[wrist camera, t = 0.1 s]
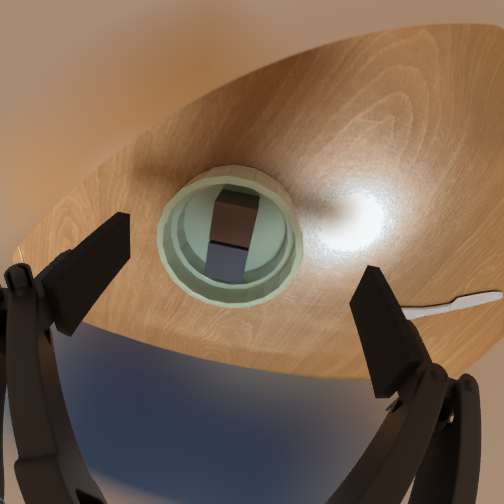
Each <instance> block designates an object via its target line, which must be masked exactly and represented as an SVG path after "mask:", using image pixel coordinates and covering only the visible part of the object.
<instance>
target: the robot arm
mask: <svg viewBox="0 0 504 504" xmlns="http://www.w3.org/2000/svg"><path fill="white" fill-rule="evenodd" d="M129 259H130V214H127V213H122V212H117V213H116V214H115V215H113V216H112V217H111V218H110V219H108V220H107V221H106V222H105V223H103V224H102V225H101V226H100V227H98V228H97V229H96V230H95V231H94V232H93V233H91V234H90V235H89V236H88V237H87V238H85V239H84V240H83V241H82V242H81V243H80V244H79V245H77V246H76V247H75V248H74V249H73V250H71V249H69V250H67V251H65V252H63V253H61V254H60V255H58V256H57V257H56V258H55V259H54V261H52V262H51V263H50V264H49V266H46V267H45V268H44V269H43V270H42V271H41V272H40V273H39V274H38V275H37V276H36V277H35V278H34V279H33V275H32V271H31V268H30V266H29V265H28V264H25V263H18V264H15V265H13V266H11V267H9V268H8V269H7V270H6V271H5V274H4V278H5V280H6V284H7V287H8V288H1V285H0V504H5V502H4V467H3V415H4V403H5V402H4V401H5V393H6V385H7V387H8V398H9V407H10V414H11V420H12V426H13V431H14V436H15V441H16V445H17V449H18V455H19V458H18V460H17V461H16V462H15V464H14V469H15V475H16V478H17V481H18V484H19V487H20V490H21V493H22V495H23V498H24V501H25V503H26V504H107V502H106V500H105V498H104V496H103V494H102V492H101V490H100V489H99V487H98V485H97V484H96V482H95V481H94V480H93V478H92V477H91V475H90V474H89V471H88V469H87V467H86V465H85V462H84V460H83V457H82V455H81V452H80V449H79V447H78V444H77V441H76V438H75V435H74V432H73V429H72V426H71V423H70V419H69V416H68V412H67V409H66V406H65V401H64V397H63V394H62V389H61V385H60V380H59V375H58V370H57V365H56V359H55V352H54V346H53V338H52V332H51V329H50V326H51V325H52V323H53V322H54V323H55V325H56V328H57V331H59V332H61V333H63V334H65V335H67V336H70V337H71V336H72V334H73V333H74V331H75V330H76V328H77V327H78V325H79V324H80V322H81V321H82V320H83V318H84V317H85V316H86V314H87V313H88V312H89V310H90V309H91V307H92V306H93V305H94V303H95V302H96V301H97V299H98V298H99V297H100V295H101V294H102V293H103V291H104V290H105V289H106V287H107V286H108V285H109V284H110V282H111V281H112V280H113V279H114V277H115V276H116V275H117V273H118V272H119V271H120V270H121V269H122V267H123V266H124V265H125V264H126V262H127V261H128V260H129ZM349 305H350V308H351V311H352V314H353V317H354V320H355V324H356V327H357V330H358V334H359V337H360V341H361V344H362V348H363V351H364V355H365V358H366V362H367V366H368V370H369V373H370V377H371V381H372V385H373V389H374V393H375V397H376V398H390V397H391V396H392V395H393V394H394V393H395V392H396V391H397V392H398V395H399V397H398V398H397V399H396V400H395V401H394V402H393V403H392V404H391V405H390V406H389V407H388V408H387V409H386V411H388V410H389V409H390V408H391V409H390V411H389V412H388V414H387V416H386V418H385V420H384V421H383V423H382V425H381V427H380V428H379V430H378V432H377V434H376V435H375V436H374V438H373V440H372V441H371V443H370V444H369V446H368V447H367V449H366V451H365V452H364V453H363V455H362V456H361V458H360V459H359V461H358V462H357V464H356V465H355V466H354V468H353V469H352V471H351V472H350V473H349V475H348V476H347V477H346V479H345V480H344V481H343V482H342V484H341V485H340V486H339V487H338V489H337V490H336V491H335V492H334V494H333V495H332V496H331V497H330V498H329V500H328V501H327V502H326V503H325V504H400V503H401V501H402V500H403V498H404V496H405V494H406V492H407V490H408V489H409V487H410V485H411V483H412V481H413V479H414V477H415V480H414V484H413V488H412V491H411V495H410V498H409V501H408V504H475V501H476V496H477V489H478V482H479V472H480V459H481V410H480V396H479V387H478V384H477V382H476V380H475V378H474V377H472V376H471V375H469V374H463V375H462V376H461V377H460V378H459V379H458V380H455V379H452V378H449V377H448V374H447V372H446V371H445V369H444V368H443V367H442V366H440V365H438V364H436V363H432V360H431V358H430V356H429V354H428V352H427V349H426V347H425V345H424V343H422V339H421V337H420V336H419V332H418V330H417V328H416V327H415V326H414V324H413V323H412V322H411V321H410V320H408V319H406V317H405V315H404V313H403V311H402V309H401V307H400V305H399V303H398V301H397V299H396V297H395V295H394V294H393V292H392V290H391V288H390V286H389V284H388V282H387V281H386V279H385V277H384V275H383V273H382V272H381V270H380V268H378V267H374V266H370V265H368V266H367V268H366V270H365V272H364V274H363V276H362V279H361V281H360V283H359V285H358V287H357V289H356V291H355V293H354V295H353V297H352V299H351V301H350V303H349ZM453 415H454V418H453V421H452V422H451V423H450V418H451V416H453ZM415 475H416V476H415Z"/></svg>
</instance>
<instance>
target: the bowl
mask: <svg viewBox="0 0 504 504" xmlns="http://www.w3.org/2000/svg"><path fill="white" fill-rule="evenodd" d="M222 189H226V190H231V191H236V192H241V193H245V194H250V195H255V196H259V197H260V201H259V208H258V213H257V217H256V222H255V226H254V231H253V235H252V239H251V244H250V248H249V252H248V257H247V261H246V266H245V270H244V274H243V279H242V283H236V282H231V281H226V280H222V279H217V278H212V277H208V276H204V272H205V264H206V257H207V249H208V243H209V241H210V239H209V235H210V228H211V221H212V215H213V208H214V202H215V200H216V198H217V196H218V195H219V193H220V192H221V190H222ZM157 248H158V251H159V255H160V258H161V261H162V264H163V266H164V268H165V269H166V271H167V272H168V274H169V275H170V277H171V278H172V280H173V281H174V282H175V283H176V284H177V285H178V286H180V287H181V288H182V289H183V290H184V291H185V292H187V293H188V294H189V295H191V296H193V297H195V298H197V299H199V300H201V301H203V302H205V303H208V304H211V305H215V306H220V307H224V308H247V307H251V306H255V305H258V304H261V303H264V302H267V301H269V300H271V299H272V298H274V297H275V296H277V295H278V294H280V293H281V292H283V291H284V290H285V289H286V288H287V286H288V285H289V284H290V283H291V281H292V280H293V279H294V278H295V276H296V275H297V272H298V269H299V267H300V264H301V261H302V258H303V235H302V230H301V226H300V221H299V217H298V213H297V211H296V208H295V206H294V203H293V201H292V198H291V196H290V195H289V194H288V193H287V191H286V190H285V189H284V188H283V187H282V186H281V185H280V184H279V182H278V181H277V180H275V179H274V178H272V177H270V176H268V175H267V174H265V173H263V172H261V171H260V170H257V169H255V168H250V167H245V166H240V165H227V166H219V167H214V168H211V169H209V170H207V171H205V172H203V173H201V174H199V175H197V176H195V177H194V178H193V179H192V180H191V181H189V182H188V183H187V184H186V185H185V186H184V187H183V188H182V189H181V190H180V191H179V192H178V193H177V194H176V195H175V196H174V197H173V198H172V199H171V200H170V201H169V202H168V203H167V204H166V206H165V208H164V210H163V213H162V215H161V218H160V220H159V222H158V226H157Z"/></svg>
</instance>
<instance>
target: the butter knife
mask: <svg viewBox="0 0 504 504" xmlns="http://www.w3.org/2000/svg"><path fill="white" fill-rule="evenodd" d="M502 297H503V293H502V292H488V293H481V294H475V295H470V296H465V297H460V298H457V299H456V300H455V301H454V302H453V303H449V304H444V305H438V306H431V307H409V308H401V309H402V311H403V313H404V315H405V317H406V319H408V320H411V319H415V318H418V317H422V316H427V315H432V314H437V313H444V312H448V311H452V310H457V309H462V308H467V307H472V306H476V305H480V304H484V303H488V302H491V301H495V300H498V299H501V298H502Z"/></svg>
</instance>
